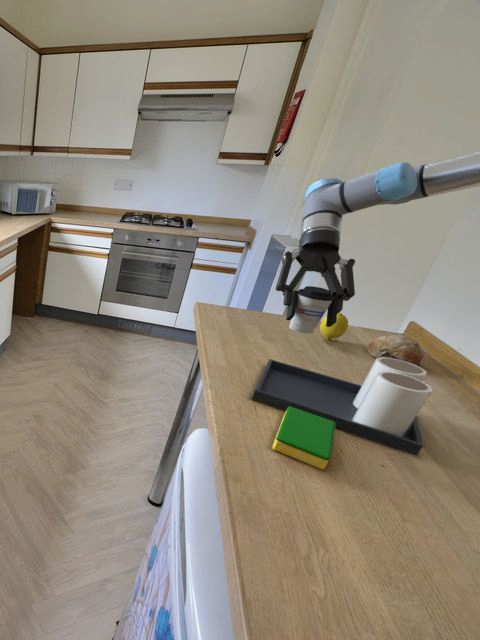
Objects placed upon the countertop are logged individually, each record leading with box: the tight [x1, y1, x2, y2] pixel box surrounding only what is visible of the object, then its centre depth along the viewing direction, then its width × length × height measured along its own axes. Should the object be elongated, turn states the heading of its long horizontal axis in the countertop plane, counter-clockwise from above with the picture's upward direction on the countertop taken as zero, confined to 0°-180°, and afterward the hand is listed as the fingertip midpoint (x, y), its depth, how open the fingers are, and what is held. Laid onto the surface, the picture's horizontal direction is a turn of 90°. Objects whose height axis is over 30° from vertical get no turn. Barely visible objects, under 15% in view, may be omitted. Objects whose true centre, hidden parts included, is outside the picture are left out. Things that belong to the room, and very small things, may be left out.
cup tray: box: [251, 358, 424, 457], centre depth 83 cm, size 24×19×2 cm
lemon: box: [319, 312, 349, 340], centre depth 112 cm, size 6×6×8 cm
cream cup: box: [353, 357, 428, 408], centre depth 79 cm, size 7×7×10 cm
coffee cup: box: [288, 285, 334, 335], centre depth 95 cm, size 7×7×10 cm
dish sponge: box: [271, 407, 336, 470], centre depth 71 cm, size 7×14×2 cm, turn 137°
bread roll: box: [366, 334, 425, 366], centre depth 104 cm, size 10×10×8 cm
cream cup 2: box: [352, 371, 433, 437], centre depth 73 cm, size 7×7×10 cm
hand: (310, 320), depth 93 cm, fingers closed on coffee cup, 7 cm apart
